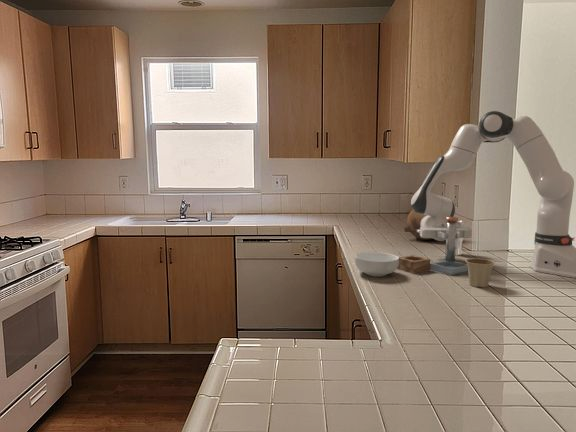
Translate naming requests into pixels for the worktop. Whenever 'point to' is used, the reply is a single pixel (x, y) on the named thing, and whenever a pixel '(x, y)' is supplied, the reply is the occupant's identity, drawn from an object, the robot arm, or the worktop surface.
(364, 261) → the cereal bowl
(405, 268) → the socket block
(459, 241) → the beer glass
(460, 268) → the tray
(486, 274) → the flower pot
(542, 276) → the worktop surface
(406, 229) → the jug
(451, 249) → the pin
